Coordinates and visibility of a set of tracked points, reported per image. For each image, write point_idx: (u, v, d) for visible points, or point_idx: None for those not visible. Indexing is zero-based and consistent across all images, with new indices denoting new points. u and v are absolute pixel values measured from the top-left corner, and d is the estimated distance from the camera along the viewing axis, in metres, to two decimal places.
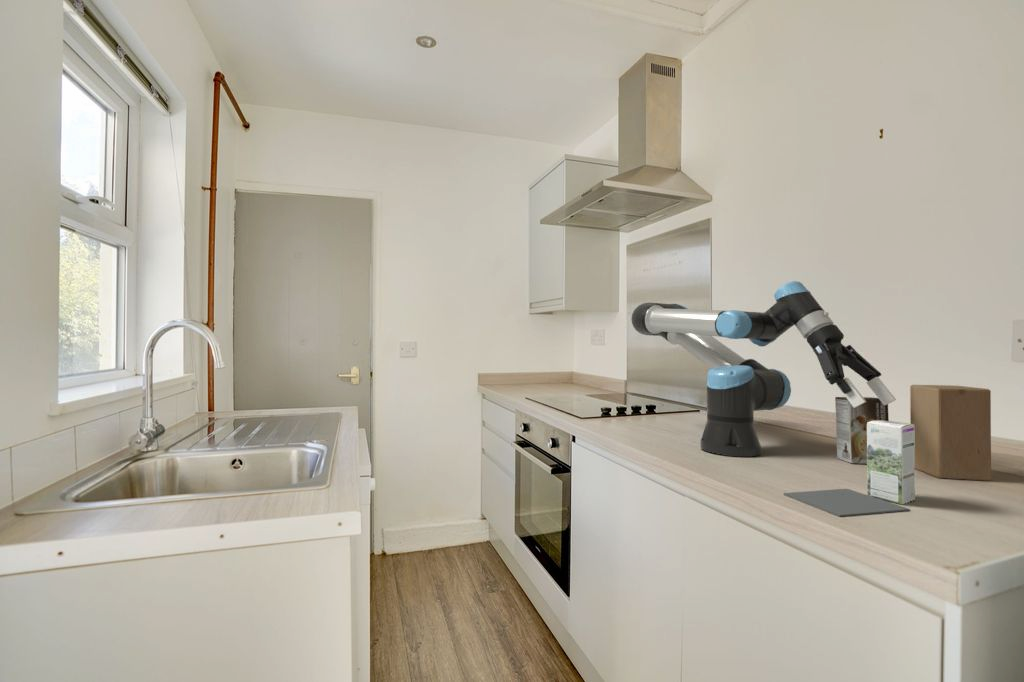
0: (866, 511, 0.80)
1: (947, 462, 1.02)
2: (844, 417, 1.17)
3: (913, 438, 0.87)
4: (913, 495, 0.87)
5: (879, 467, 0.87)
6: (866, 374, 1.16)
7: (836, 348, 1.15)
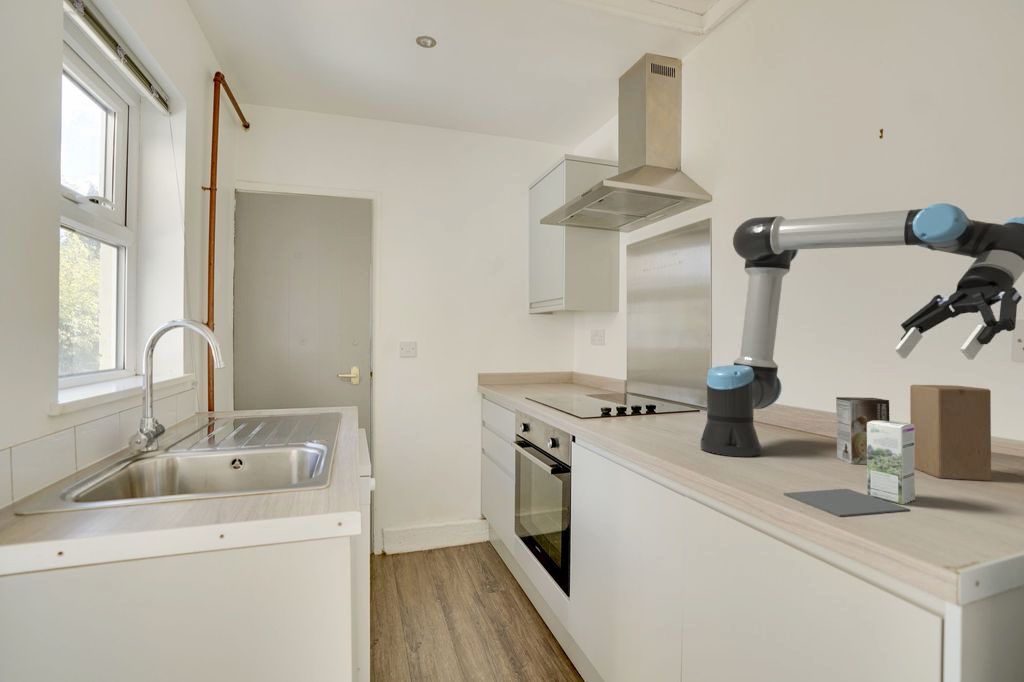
0: (866, 511, 0.80)
1: (947, 462, 1.02)
2: (845, 417, 1.17)
3: (913, 438, 0.87)
4: (913, 495, 0.87)
5: (879, 467, 0.87)
6: (924, 326, 0.97)
7: None
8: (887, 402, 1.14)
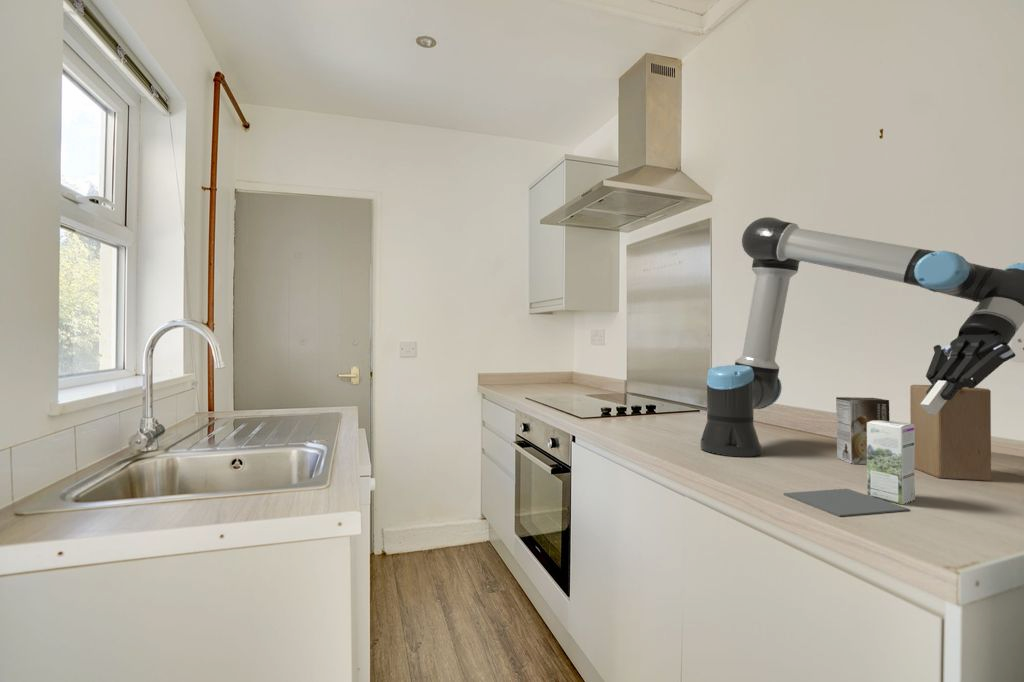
0: (866, 511, 0.80)
1: (947, 462, 1.02)
2: (845, 417, 1.17)
3: (913, 438, 0.87)
4: (913, 495, 0.87)
5: (879, 467, 0.87)
6: (948, 376, 0.92)
7: None
8: (887, 402, 1.14)
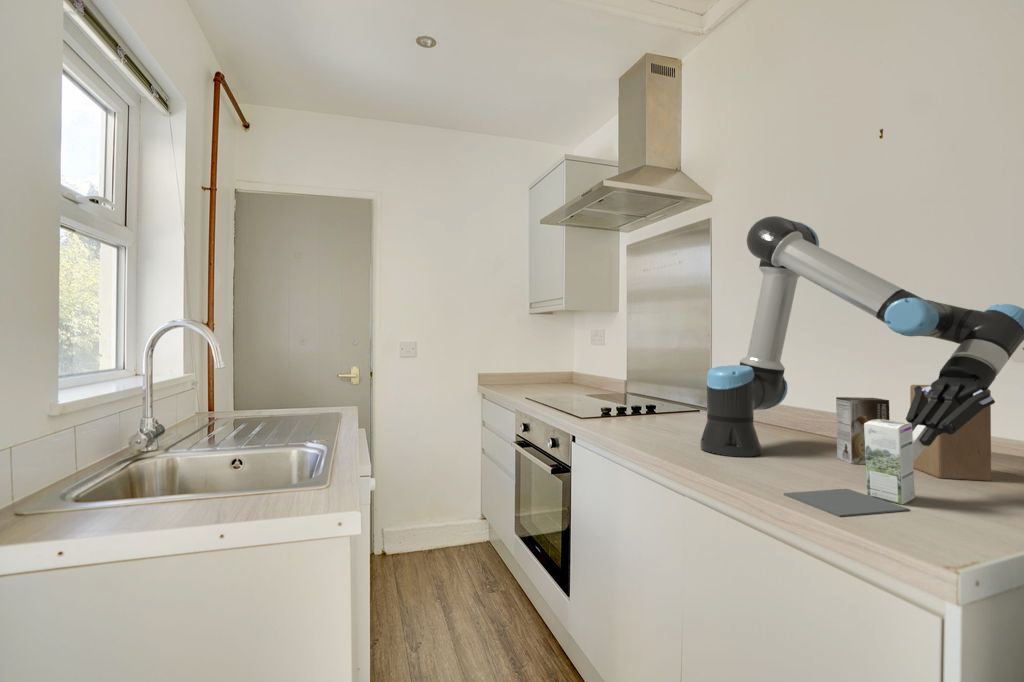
0: (866, 511, 0.80)
1: (947, 462, 1.02)
2: (845, 417, 1.17)
3: (911, 437, 0.86)
4: (913, 493, 0.87)
5: (878, 467, 0.87)
6: (928, 420, 0.91)
7: None
8: (887, 402, 1.14)
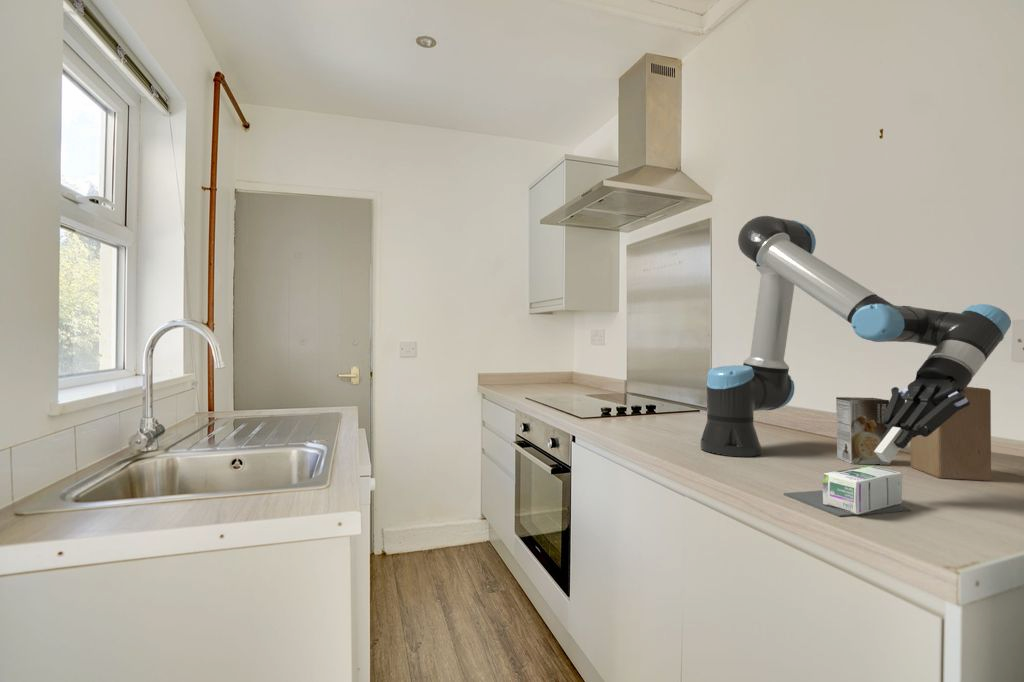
0: None
1: (947, 462, 1.02)
2: (845, 417, 1.17)
3: (866, 484, 0.79)
4: (899, 478, 0.84)
5: None
6: (903, 422, 0.90)
7: None
8: (887, 402, 1.14)
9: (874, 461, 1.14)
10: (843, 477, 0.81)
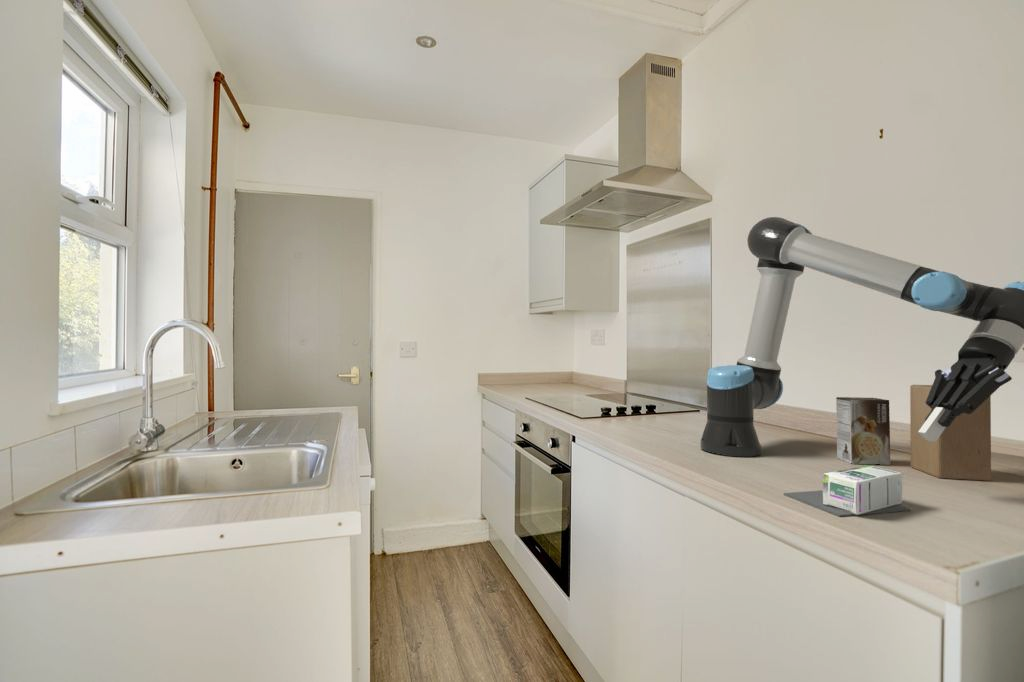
0: None
1: (947, 462, 1.02)
2: (845, 417, 1.17)
3: (866, 484, 0.79)
4: (899, 478, 0.84)
5: None
6: (947, 402, 0.93)
7: None
8: (887, 402, 1.14)
9: (874, 461, 1.14)
10: (843, 477, 0.81)
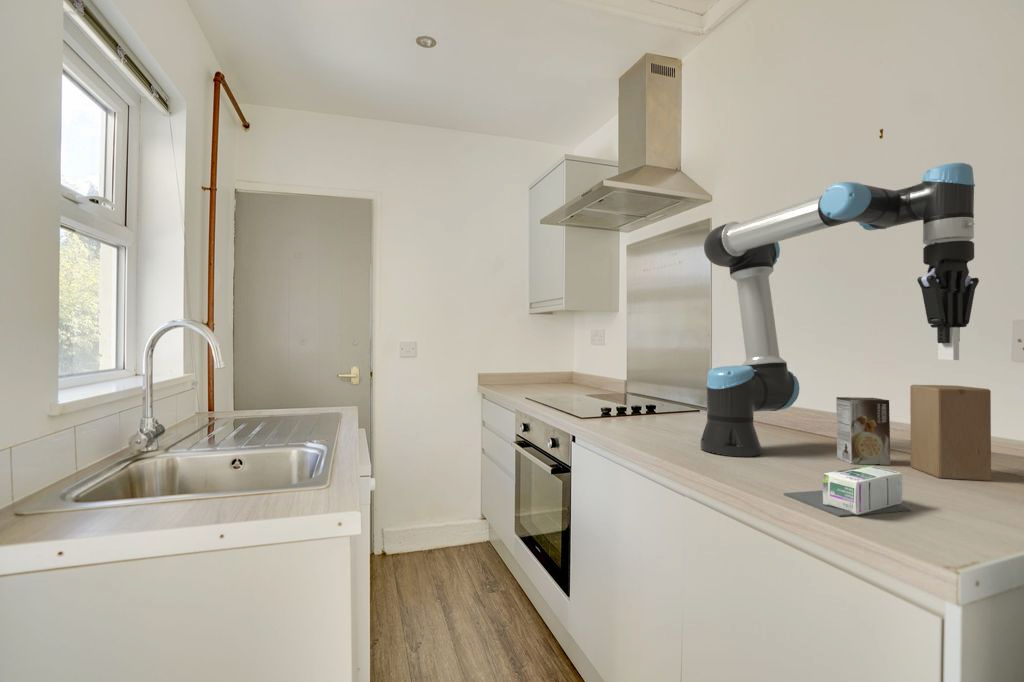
0: None
1: (947, 462, 1.02)
2: (845, 417, 1.17)
3: (866, 484, 0.79)
4: (899, 478, 0.84)
5: None
6: None
7: (949, 275, 0.92)
8: (887, 402, 1.14)
9: (874, 461, 1.14)
10: (843, 477, 0.81)
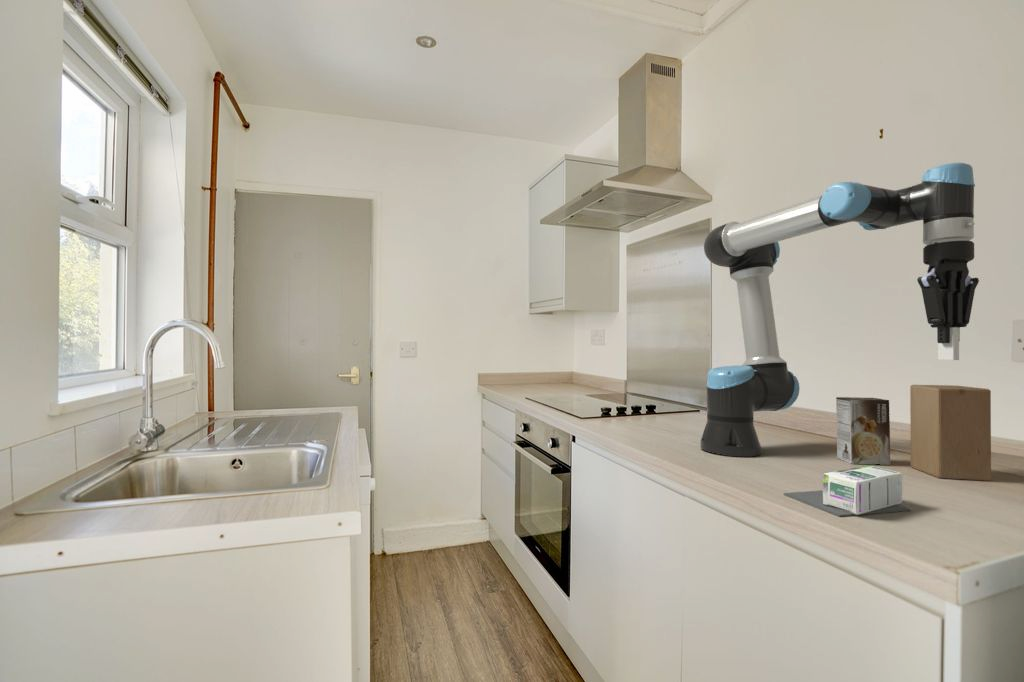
0: None
1: (947, 462, 1.02)
2: (845, 417, 1.17)
3: (866, 484, 0.79)
4: (899, 478, 0.84)
5: None
6: None
7: (949, 275, 0.92)
8: (887, 402, 1.14)
9: (874, 461, 1.14)
10: (843, 477, 0.81)
